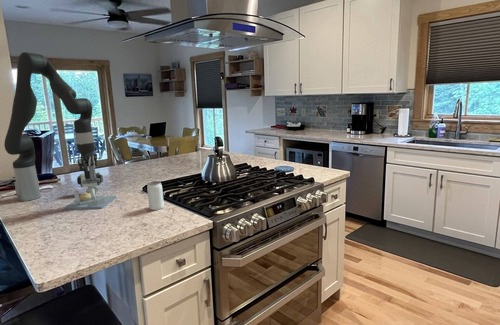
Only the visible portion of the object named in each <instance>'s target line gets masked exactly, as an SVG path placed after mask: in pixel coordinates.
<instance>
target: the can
mask: <svg viewBox="0 0 500 325" xmlns="http://www.w3.org/2000/svg"><path fill="white" fill-rule="evenodd" d="M146 189H147V198H148V207H149V210H151V211H158V210H161V209H163V208H164V207H165V204H164V193H163V186H162V183H161V181H160V180H156V181H155V180H154V181H153V180H152V181H149V182H148V183H147V188H146Z"/></svg>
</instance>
